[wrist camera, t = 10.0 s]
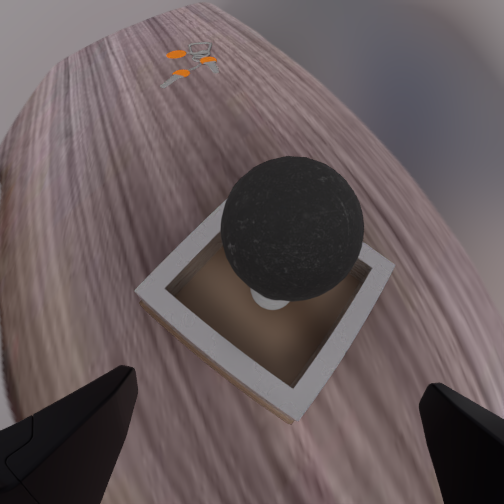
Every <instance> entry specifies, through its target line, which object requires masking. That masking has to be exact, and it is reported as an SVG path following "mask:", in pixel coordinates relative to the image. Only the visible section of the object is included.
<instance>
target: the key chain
mask: <svg viewBox="0 0 504 504" xmlns="http://www.w3.org/2000/svg"><path fill="white" fill-rule="evenodd" d="M195 44H209V47H208V49H207V50H203V51H199V52H197V53H193V52H192V50H191V45H195ZM211 46H212V43H210V42H199V43H191V44H189V45H188V47H189V49H190V53H186V52H185V51H182V50H177V51H172V52H170V53H168V54H167V57H168V58H180V57H183V56H185V55H186V54H191V55H194V56H193V57H192V60H193V61H195V62H200V63H199V65H197V66H196V67H194V68H192V69H188V70H177V71H175V72H174V73H173V74H172V75H173V76H172V77H171V79H168V80H166V81H167V82H164V84H163V85H162V84H161V85H160V87H161V88H166V87H167V86H168V85H170V84H171V83H173V82H174V81H175V80H177V79H178V78H182V77H186V76H188V75H189V74H190V72H189V70H193V69H196V68H198V67H199V66H200V65H201V64H206V65H208V66H209V68H210V69H211V70H212V72H213V73H219V71H218V69H219V68H217V67H218V66H215V65H216V63H215V62H217V60H216V59H215V58H214V57H208V56H209V55H210V49H211ZM197 54H206V55H197ZM199 56H201V57H199ZM194 58H196V59H200V60H195V59H194Z"/></svg>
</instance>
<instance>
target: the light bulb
mask: <svg viewBox="0 0 504 504" xmlns="http://www.w3.org/2000/svg"><path fill="white" fill-rule="evenodd" d="M220 233H221V240H222V244H223V248H224V251H225V255H226V258H227V260H228V262H229V263H230V265H231V267H232V269H233V271H234V272H235V273H236V275H237V276H238V277H239V278H240V279H241V280H242V281H243V282H244V283H245V284H246V285H247V286H248V287H250V289H251V294H252V297H253V299H254V300H255V302H256V303H257V304H258V305H259V306H261V307H262V308H265V309H268V310H277V309H280V308H282V307H284V306H286V305H287V304H288V303H289V302H290V301H291V302H294V301H304V300H308V299H311V298H315V297H318V296H320V295H322V294H325V293H326V292H328V291H329V290H331V289H333V288H334V287H335V286H336V285H338V284H339V283H340V282H341V281H342V280H343V279H344V278H345V277H346V276H347V275H348V273H349V272H350V271H351V269H352V267H353V266H354V264H355V262H356V261H357V259H358V256H359V254H360V251H361V248H362V243H363V235H364V222H363V215H362V210H361V207H360V204H359V201H358V199H357V196H356V195H355V193H354V191H353V190H352V189H351V187H350V186H349V184H348V183H347V181H346V180H345V179H344V178H343V177H342V176H341V175H340V174H338V173H337V172H336V171H335V170H334V169H332V168H331V167H329V166H327V165H326V164H324V163H321V162H318V161H315V160H312V159H309V158H306V157H291V156H286V157H281V158H277V159H272V160H269V161H266V162H264V163H262V164H260V165H258V166H256V167H254V168H253V169H251V170H250V171H249V172H248V173H247V174H245V175H244V176H243V177H242V178H241V179H240V180H239V181H238V182H237V183H236V184H235V186H234V187H233V189H232V191H231V192H230V194H229V196H228V198H227V201H226V203H225V206H224V210H223V214H222V218H221V228H220Z"/></svg>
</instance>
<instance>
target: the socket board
mask: <svg viewBox="0 0 504 504" xmlns="http://www.w3.org/2000/svg"><path fill="white" fill-rule="evenodd" d="M359 283H360V281H359V280H358V279H357V278H355V277H354V276H352V275H351V274H349V273H348V275H347V276H346V277H345V278H344V279H343V280H342V281H341V282H340V283H339V284H338V285H336V286H335V287H334V288H333V289H331V290H329V291H328V292H326V293H325V294H322V295H320V296H318V297H315V298H311V299H308V300H304V301H294V302H291V301H290V302H289V303H288V304H287V305H286V306H284V307H282V308H280V309H277V310H268V309H265V308H262V307H261V306H259V305H258V304H257V303H256V302H255V300H254V299H253V297H252V294H251V289H250V287H248V286H247V285H246V284H245V283H244V282H243V281H242V280H241V279H240V278H239V277H238V276H237V275H236V273H235V272H234V271H233V269H232V267H231V265H230V263H229V262H228V260H227V258H226V255H225V251H224V248H223V246H222V247H221V248H220V249H219V250H218V251H217V252H216V253H215V254H214V255H213V256H212V257H211V259H210V260H209V261H208V262H207V263H206V264H205V265H204V266H203V267H202V268H201V269H200V270H199V271H198V272H197V273H196V274H195V275H194V277H193V278H192V279H191V280H190V281H189V282H188V283H187V284H186V285H185V286H184V287H183V288H182V289H181V290H180V292H179V293H178V294H177V295H176V296H175V298H176V299H177V300H178V301H179V302H181V303H182V304H183V305H184V306H185V307H187V308H188V309H189V310H190V311H191V312H193V313H194V314H195V315H196V316H197V317H199V318H200V319H201V320H202V321H204V322H205V323H206V324H207V325H209V326H210V327H211V328H212V329H214V330H215V331H216V332H217V333H219V334H220V335H221V336H222V337H224V338H225V339H226V340H227V341H229V342H230V343H231V344H233V345H234V346H235V347H236V348H238V349H239V350H240V351H242V352H243V353H244V354H246V355H247V356H248V357H250V358H251V359H252V360H254V361H255V362H256V363H258V364H259V365H260V366H262V367H263V368H264V369H266V370H267V371H269V372H270V373H271V374H273V375H274V376H275V377H277V378H278V379H280V380H281V381H282V382H284V383H285V384H287V385H288V386H290V385H291V384H292V383H293V381H294V380H295V378H296V377H297V376H298V374H299V373H300V372H301V370H302V369H303V368H304V366H305V365H306V363H307V362H308V361H309V359H310V358H311V356H312V355H313V353H314V352H315V351H316V349H317V348H318V346H319V345H320V343H321V342H322V340H323V339H324V337H325V336H326V334H327V333H328V331H329V330H330V328H331V327H332V325H333V324H334V322H335V321H336V319H337V318H338V316H339V315H340V313H341V312H342V310H343V308H344V307H345V305H346V304H347V302H348V301H349V299H350V297H351V296H352V294H353V292H354V291H355V289H356V288H357V286H358V284H359ZM139 304H140V305H141V306H142V308H143V309H144V310H146V311H147V312H148V313H149V314H150V315H151V316H152V317H153V318H154V319H155V320H156V321H158V322H159V323H160V324H161V325H162V326H163V327H164V328H165V329H166V330H168V331H169V332H170V333H171V334H172V335H173V336H174V337H176V338H177V339H178V340H179V341H180V342H181V343H183V344H184V345H185V346H186V347H187V348H188V349H190V350H191V351H192V352H193V353H194V354H196V355H197V356H198V357H199V358H200V359H202V360H203V361H204V362H205V363H207V364H208V365H209V366H210V367H212V368H213V369H214V370H215V371H217V372H218V373H219V374H220V375H222V376H223V377H224V378H226V379H227V380H228V381H229V382H231V383H232V384H233V385H235V386H236V387H237V388H239V389H240V390H241V391H243V392H244V393H245V394H247V395H248V396H249V397H251V398H252V399H253V400H255V401H256V402H258V403H259V404H260V405H262V406H263V407H265V408H266V409H267V410H269V411H270V412H272V413H273V414H275V415H276V416H278V417H279V418H280V419H282V420H283V421H285V422H286V423H288V424H292V423H293V422H294V420H290V419H289V418H287V417H286V416H284V415H283V414H281V413H280V412H278V411H277V410H275V409H274V408H273V407H271V406H270V405H268V404H267V403H265V402H264V401H263V400H261V399H260V398H259V397H257V396H256V395H254V394H253V393H252V392H250V391H249V390H248V389H246V388H245V387H244V386H242V385H241V384H240V383H238V382H237V381H236V380H234V379H233V378H232V377H230V376H229V375H228V374H226V373H225V372H224V371H223V370H221V369H220V368H219V367H218V366H216V365H215V364H214V363H213V362H211V361H210V360H209V359H208V358H206V357H205V356H204V355H203V354H201V353H200V352H199V351H198V350H197V349H195V348H194V347H193V346H192V345H191V344H189V343H188V342H187V341H186V340H185V339H183V338H182V337H181V336H180V335H179V334H178V333H176V332H175V331H174V330H173V329H172V328H171V327H170V326H168V325H167V324H166V323H165V322H164V321H163V320H162V319H161V318H159V317H158V316H157V315H156V314H155V313H154V312H153V311H152V310H151V309H150V308H148V307H147V306H146V305H145V304H144V303H143V302H142V300H141V301H140V302H139Z"/></svg>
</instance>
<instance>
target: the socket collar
mask: <svg viewBox="0 0 504 504" xmlns="http://www.w3.org/2000/svg"><path fill="white" fill-rule="evenodd" d="M226 201H227V199H226V200H225V201H224V202H223V203H222V204H221V205H220V206H219V207H218V208H217V209H216V210H215V211H214V212H212V213H211V214H210V215H209V216H208V217H207V218H206V219H205V220H204V221H203V222H202V223H201V224H200V225H199V226H198V227H197V228H196V229H195V230H194V231H193V232H192V233H191V234H190V235H189V236H188V237H187V238H186V239H185V240H184V241H183V242H182V243H181V244H180V245H179V246H178V247H177V248H176V249H175V250H174V251H173V252H172V253H171V254H170V255H169V256H168V257H167V258H166V259H165V260H164V261H163V262H162V263H161V264H160V265H159V266H158V267H157V268H156V269H155V270H154V271H153V272H152V273H151V274H150V275H149V276H148V277H147V278H146V279H145V280H144V281H143V282H142V283H141V284H140V285H139V286H138V287H137V288H136V289H135V290H134V291H135V292H136V294H137V295H138V296H139V298H140V299H141V300H142V302H143V303H144V304H145V305H146V306H147V307H148V308H150V309H151V310H152V311H153V312H154V313H155V314H156V315H157V316H158V317H159V318H161V319H162V320H163V321H164V322H165V323H166V324H167V325H168V326H170V327H171V328H172V329H173V330H174V331H175V332H176V333H178V334H179V335H180V336H181V337H182V338H183V339H185V340H186V341H187V342H188V343H189V344H191V345H192V346H193V347H194V348H195V349H197V350H198V351H199V352H200V353H201V354H203V355H204V356H205V357H206V358H208V359H209V360H210V361H211V362H213V363H214V364H215V365H216V366H218V367H219V368H220V369H221V370H223V371H224V372H225V373H226V374H228V375H229V376H230V377H232V378H233V379H234V380H236V381H237V382H238V383H240V384H241V385H242V386H244V387H245V388H246V389H248V390H249V391H250V392H252V393H253V394H254V395H256V396H257V397H259V398H260V399H261V400H263V401H264V402H265V403H267V404H268V405H270V406H271V407H273V408H274V409H275V410H277V411H278V412H280V413H281V414H283V415H284V416H286V417H287V418H289V419H290V420H294V421H299V420H300V418H301V417H302V416H303V414H304V413H305V412H306V410H307V409H308V408H309V406H310V405H311V404H312V402H313V401H314V399H315V398H316V397H317V395H318V394H319V392H320V391H321V389H322V388H323V387H324V385H325V384H326V382H327V381H328V379H329V378H330V376H331V375H332V373H333V372H334V370H335V369H336V367H337V366H338V364H339V363H340V361H341V360H342V358H343V356H344V355H345V353H346V352H347V350H348V349H349V347H350V345H351V344H352V342H353V340H354V339H355V337H356V336H357V334H358V332H359V331H360V329H361V327H362V326H363V324H364V322H365V320H366V319H367V317H368V315H369V313H370V312H371V310H372V308H373V306H374V305H375V303H376V301H377V299H378V297H379V296H380V294H381V292H382V290H383V288H384V286H385V284H386V282H387V281H388V279H389V277H390V275H391V273H392V271H393V269H394V267H395V264H393V263H392V262H391V261H389V260H388V259H386V258H385V257H384V256H382V255H381V254H379V253H378V252H377V251H375V250H374V249H372V248H371V247H370V246H368V245H367V244H365V243H364V242H363V243H362V248H361V251H360V254H359V256H358V259H357V261H356V262H355V264H354V266H353V267H352V269H351V271H350V272H349V274H351V275H352V276H354V277H355V278H357V279H358V280H359V281H360V283H359V284H358V286H357V288H356V289H355V291H354V292H353V294H352V296H351V297H350V299H349V301H348V302H347V304H346V305H345V307H344V308H343V310H342V312H341V313H340V315H339V316H338V318H337V319H336V321H335V322H334V324H333V325H332V327H331V328H330V330H329V331H328V333H327V334H326V336H325V337H324V339H323V340H322V342H321V343H320V345H319V346H318V348H317V349H316V351H315V352H314V353H313V355H312V356H311V358H310V359H309V361H308V362H307V363H306V365H305V366H304V368H303V369H302V370H301V372H300V373H299V374H298V376H297V377H296V378H295V380H294V381H293V383H292V384H291V385H290V386H288V385H287V384H285V383H284V382H282V381H281V380H280V379H278V378H277V377H275V376H274V375H273V374H271V373H270V372H269V371H267V370H266V369H264V368H263V367H262V366H260V365H259V364H258V363H256V362H255V361H254V360H252V359H251V358H250V357H248V356H247V355H246V354H244V353H243V352H242V351H240V350H239V349H238V348H236V347H235V346H234V345H233V344H231V343H230V342H229V341H227V340H226V339H225V338H224V337H222V336H221V335H220V334H219V333H217V332H216V331H215V330H214V329H212V328H211V327H210V326H209V325H207V324H206V323H205V322H204V321H202V320H201V319H200V318H199V317H197V316H196V315H195V314H194V313H193V312H191V311H190V310H189V309H188V308H187V307H185V306H184V305H183V304H182V303H181V302H179V301H178V300H177V299H176V298H175V296H176V295H177V294H178V293H179V292H180V290H181V289H182V288H183V287H184V286H185V285H186V284H187V283H188V282H189V281H190V280H191V279H192V278H193V277H194V275H195V274H196V273H197V272H198V271H199V270H200V269H201V268H202V267H203V266H204V265H205V264H206V263H207V262H208V261H209V260H210V259H211V257H212V256H213V255H214V254H215V253H216V252H217V251H218V250H219V249H220V248H221V247H222V246H223V244H222V240H221V233H220V228H221V218H222V214H223V210H224V206H225V203H226Z"/></svg>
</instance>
